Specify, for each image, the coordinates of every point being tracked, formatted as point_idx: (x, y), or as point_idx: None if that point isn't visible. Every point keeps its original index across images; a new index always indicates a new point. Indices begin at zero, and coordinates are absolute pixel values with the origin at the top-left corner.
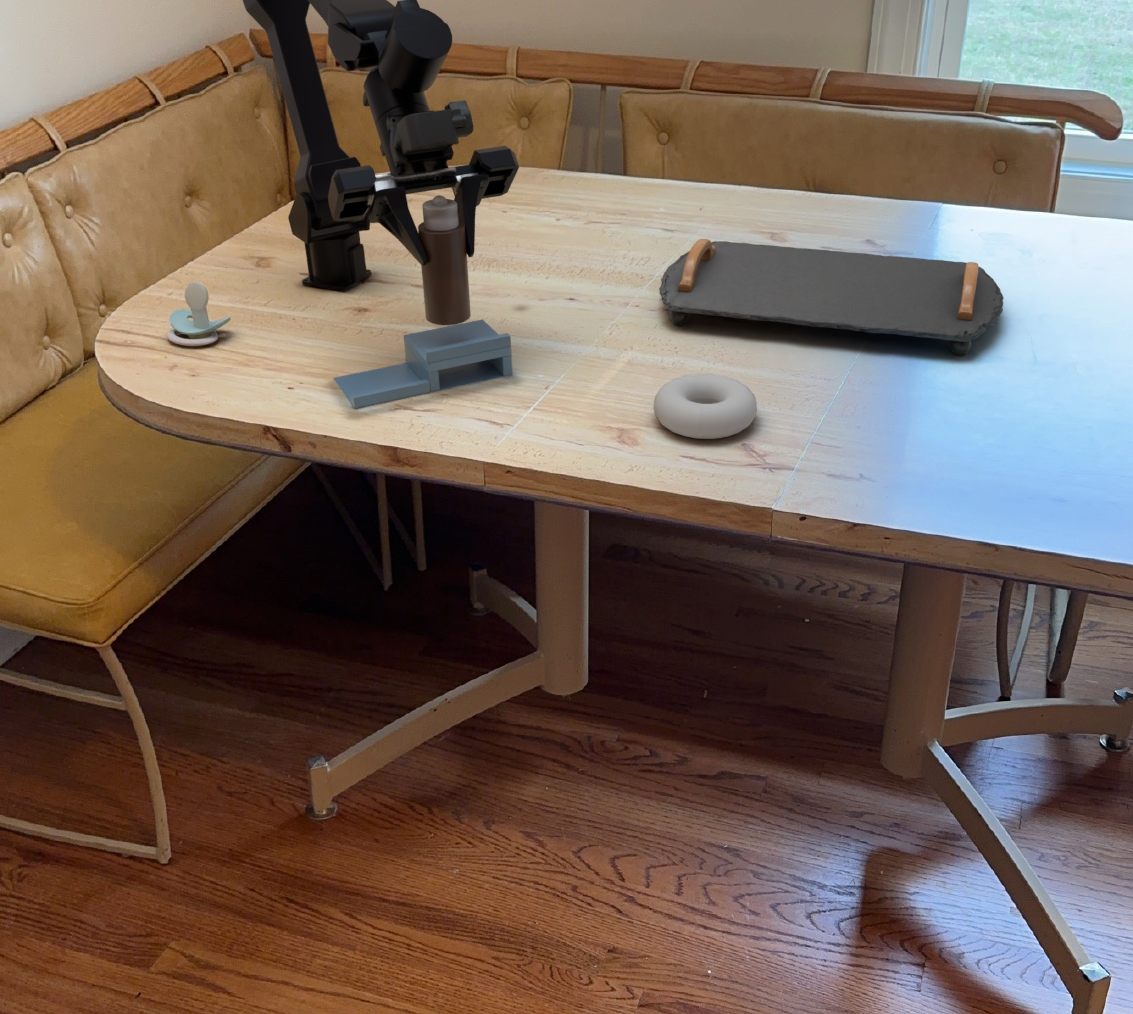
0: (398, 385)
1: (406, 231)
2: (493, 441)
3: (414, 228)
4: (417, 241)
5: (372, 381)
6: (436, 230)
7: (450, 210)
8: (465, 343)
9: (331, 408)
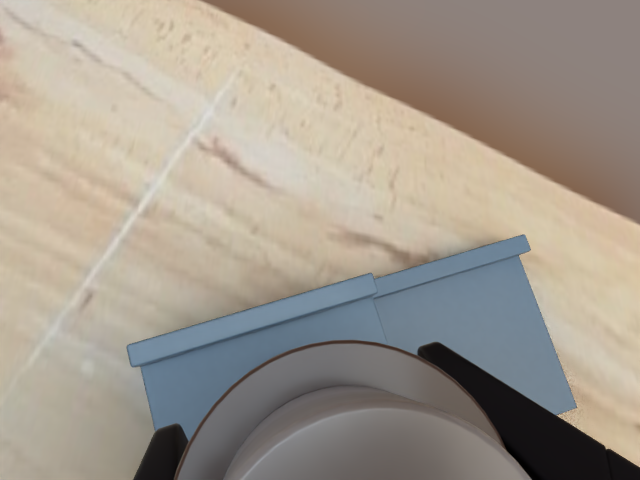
0: (430, 277)
1: (599, 444)
2: (240, 90)
3: (551, 467)
4: (498, 403)
5: (486, 369)
6: (390, 390)
7: (275, 432)
8: (264, 313)
9: (557, 288)
